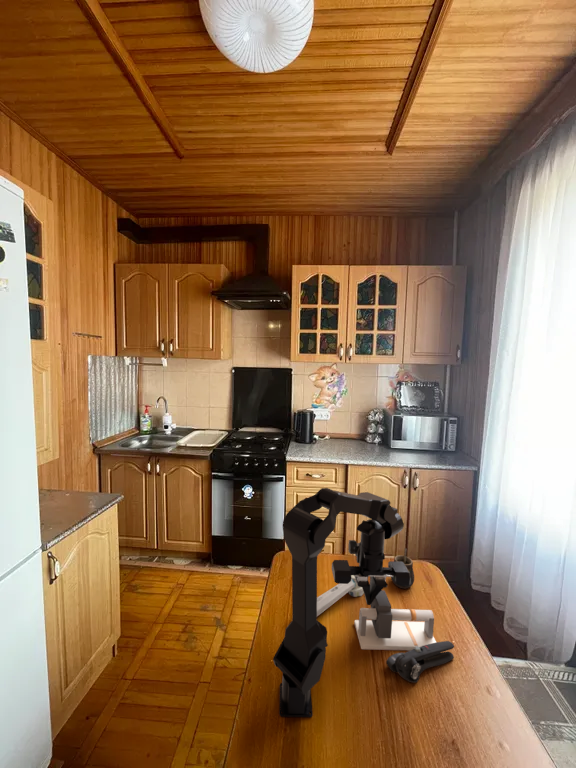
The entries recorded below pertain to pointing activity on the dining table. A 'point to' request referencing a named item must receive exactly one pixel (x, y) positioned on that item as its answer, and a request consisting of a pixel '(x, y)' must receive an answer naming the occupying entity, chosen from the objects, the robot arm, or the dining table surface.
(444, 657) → the can opener
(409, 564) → the mate gourd
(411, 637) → the pipe stand
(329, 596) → the light grey long piece
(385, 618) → the stepped block
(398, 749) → the dining table surface
